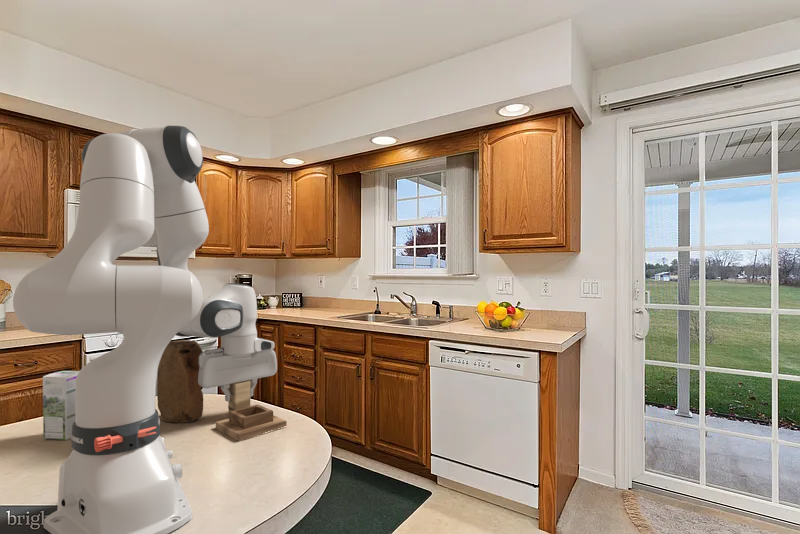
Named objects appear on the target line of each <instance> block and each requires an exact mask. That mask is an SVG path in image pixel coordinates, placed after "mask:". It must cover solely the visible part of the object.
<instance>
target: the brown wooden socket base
mask: <svg viewBox="0 0 800 534" xmlns="http://www.w3.org/2000/svg"><path fill="white" fill-rule="evenodd" d="M287 425H288V424H287V420H285V419H283V418H281V417H278V416H275V415H274V410H272V409H270V408H269V407H266V406H264V405H263V406H262V405H260V404H253V405H250V406H249V407H245V408H241V409H237V410H233V411H228V418H225V419H222V420H218V421H215V429H217V430H218V431H220V432H222V433H223V432H224V434H225V433H226V434H225V435H227V436H229V437H231V438H232V437H233V439H234V440H236V441H238V442H243V441H245V439H246V440H249V439H252V438H255V437H254V436H256V437H258V436H257V435H259V436H261V435H260V434H262V435H264V434H263V433H265V432H268V431H271V430H275V429H278V428H281V427H284V426H287ZM251 437H252V438H251ZM248 438H249V439H248ZM242 440H243V441H242Z"/></svg>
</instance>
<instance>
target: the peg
mask: <svg viewBox="0 0 800 534" xmlns="http://www.w3.org/2000/svg"><path fill="white" fill-rule="evenodd" d="M250 383H251V382H250V381H249V380H247V381H242V382H237V383H232V384H230V387H229V388H227V389H228V391H229V392H230V393H233V394H234V397H233V398H234V400H233V401H229V402H228V407H227V409H228V412H229V411H233V410H237V409H241V408H245V407H249V406H251V397H250Z"/></svg>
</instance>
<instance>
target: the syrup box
mask: <svg viewBox="0 0 800 534" xmlns="http://www.w3.org/2000/svg"><path fill="white" fill-rule="evenodd" d="M79 372H80V370H78V371H77V370H61V371H60V370H59V371H55V372H53V373H52V372H51V373H49V374H46V375H44V376H42V415H43V416H42V419H43V420H42V422H43V423H42V424H43V425H42V426H43V428H42V429H43V431H42V435H43V437H42V438H43V440H56V441H58V440H60V441H61V440H62V441H66V440H69V439H71V432H72V425H73V423H74V422H75V381H76V377H77V375H78V373H79Z"/></svg>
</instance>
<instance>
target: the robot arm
mask: <svg viewBox="0 0 800 534" xmlns="http://www.w3.org/2000/svg"><path fill="white" fill-rule="evenodd" d="M203 155H204V154H203V150H202V147H201V144H200V142H199V139H198V138H197V136H196V134H195V133H194V132H193V131H191V130H190V129H189V128H188V127H186V126H182V125H166V126H164V127H146V128H138V129H137V128H133V129H127V130H123V131H118V132H111V133H109V132H108V133H103V134H100V135H98V136H95V137H94V138H92V139H90V140H88V141H87V142H86V143H85V144H84V146H83V149H82V151H81V162H82V168H81V173H80V184H79V200H78V201H79V202H78V210H77V211H78V212H77V218H76V224H75V228H74V231H73V233H72V235H71V238H70V239H69V240H68V242H67V243H66V245H65V246H64V247H63V249H61V250H60V252H58V253H57V254H56V255H55V256H54V257H53V258H52V259H50V260H49V261H48V262H46V263H44V264H43V265H41V266H39V267H37V268H35V269H33V270H31V271H30V272H28V273H26V274H25V276H24V277H23V278H22V279H21V280H20V281H19V283H18V284H17V286H16V288H15V290H14V293H13V297H12V307H13V308H12V309H13V311H14V314H15V316H16V318H17V320H18V321H19V323H20V324H21V325H22V326H23V327H24V328H25V329H26V330H28V331H30V332H32V333H38V334H47V335H59V336H75V335H76V336H77V335H78V336H79V335H94V334H108V333H110V334H112V333H117V334H121V335H122V336H123V339H122V340H121V343H120V344H119V345H118V346H117V347H115V348H114V349H112V350H110V351H108V352H105V353H104V354H101V355H100V356H98V357H96V358H94V359H92V360H91V361H89V362H88V363H86V364H85V365H84V366H82V368H81V369H80V370H79V371H80V372H79V373H78V375H77V377H76V381H75V422H74V423H73V425H72V432H71V438H70V439H71V448H72V451H71V453H70V454H69V455H68V457H67V458H66V459H65V460H64V461H63V462H62V463H61V464H60V466H59V472H58V473H59V474H58V492H57V496H58V497H57V510H55V511H53V512H52V513H51V514H48V516H46V517H45V518H44V519H43V526H42V527H43V529H45V530H46V531H47V532H49V533H50V534H170V533H171V532H174V531H176V530H177V529H179V528H181V527H182V526H184V525H185V524H187V522H189V521H190V520H191V519H192V518H193V511H192V507H191V505H190V503H189V500H188V499H187V496H186V493H185V492H184V489H183V487H182V485H181V482H180V480H179V479H181V478H182V477H183V466H182V463H180V462H178V463H175V464H171V462H170V459H172V458H173V450H172V449H170V450H169V449H168V450H167V448H166V445H165V438H164V437H162V436H160V435H161V433H162V432H161V420H160V419H161V418H160V417H159V410H158V409H156V396H157V395H156V393H157V391H156V390H157V377H158V366H159V362H160V359H161V357H162V354H163V352H164V350H165V348H166V347H167V345H168V344H169V342H170V341H173V339H174V337H175V336H177V337H187V338H188V337H197V338H208V339H216V338H220V343H221V344H220V347H219V348H214V349H212V348H211V349H205V350H204V351H202V352H203V353H201V354H200V356H199V373H198V384H199V385H200V386H201V387H203V388H204V389H210V388H216V387H220V389H221V391H222V392H223V394H224V400H225V402H229V401H233V400H234V398H233V397H234V394H233V393H230V392H229V391H228V388H229V387H230V384H232V383H237V382H242V381H250V398H251V397H253V396H254V390H255V388H256V386H257V384H258V379H262V378H267V377H271V376H274V375H275V374H276V373H277V371H278V361H277V354H276V351H275V350H274V349H275V347H276V345H275V344H276V343H275V342H274V341H272V340H269V339H265V338H263V337H258V330H257V326H256V322H257V318H258V305H257V304H258V302H257V296H256V291H255V289H254V287H252V286H251V285H248V284H243V283H234V282H232V283H226V284H225V283H224V285H223V287H222V288H221V289H220V290H219V291H217V292H215V293H214V294H212V295H210V296H208V297H204V293H203V291H204V290H203V288H202V285H201V283H200V281H199V279H198V278H197V276H196V275H195V274H194V273H193V272H192V271H191V270H189V268H188V267H189V266H188V260H189V257H190V256H191V255H192V253H193V252H194V251H196V250H197V249H198V248H200V247H201V246H202V245H203V244H204V243H205V241H206V240H207V238H208V237H209V236H208V235H209V233H210V224H209V219H208V214H207V211H206V207H205V204H204V201H203V198H202V195H201V192H200V190H199V188H198V187H199V186H198V185H197V183H196V177H197V176H198V175H199V174H200V172H201V170H202V167H203V164H204V156H203ZM154 232H156V240H157V243H156V256H157V257H156V259H157V264H158V265H117V264H114V262H115V261H116V260H117V259H118V258H119V257H120V256H123V254H126V253H129V252H131V251H134V250H136V249H138V248H140V247H142V246H144V245H145V244H147V243H148V242H149V240H151V238H152V236H153V234H154Z"/></svg>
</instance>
